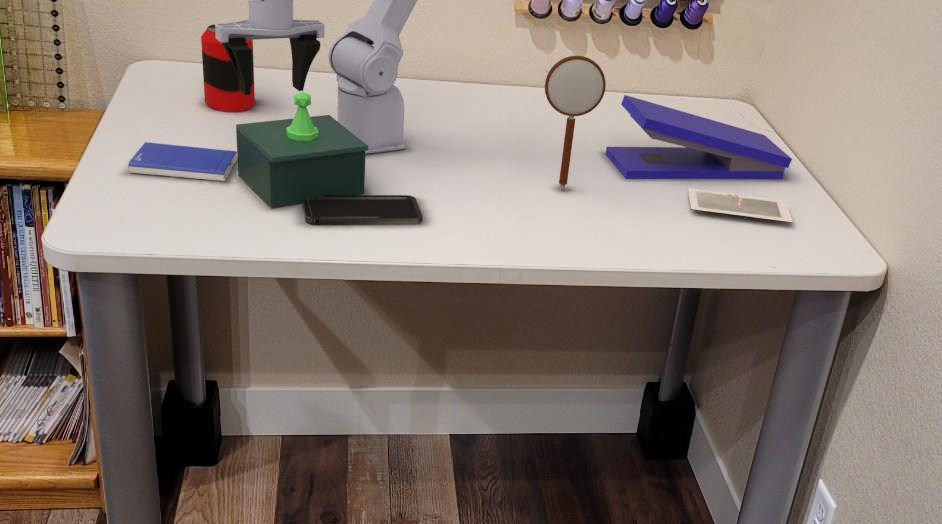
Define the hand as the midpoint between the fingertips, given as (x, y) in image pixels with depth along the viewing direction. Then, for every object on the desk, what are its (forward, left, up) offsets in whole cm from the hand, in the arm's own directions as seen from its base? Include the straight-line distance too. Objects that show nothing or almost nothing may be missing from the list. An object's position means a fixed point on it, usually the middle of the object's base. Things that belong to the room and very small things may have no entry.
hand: (271, 90), depth 145 cm
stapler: (-62, +23, -10) cm, 67 cm away
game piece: (0, +10, -3) cm, 10 cm away
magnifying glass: (-35, +23, -10) cm, 43 cm away
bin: (0, +9, -10) cm, 14 cm away
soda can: (-3, -24, -10) cm, 26 cm away
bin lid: (0, +10, -4) cm, 11 cm away
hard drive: (+12, -2, -10) cm, 16 cm away
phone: (-4, +20, -11) cm, 23 cm away
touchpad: (-56, +39, -10) cm, 69 cm away
